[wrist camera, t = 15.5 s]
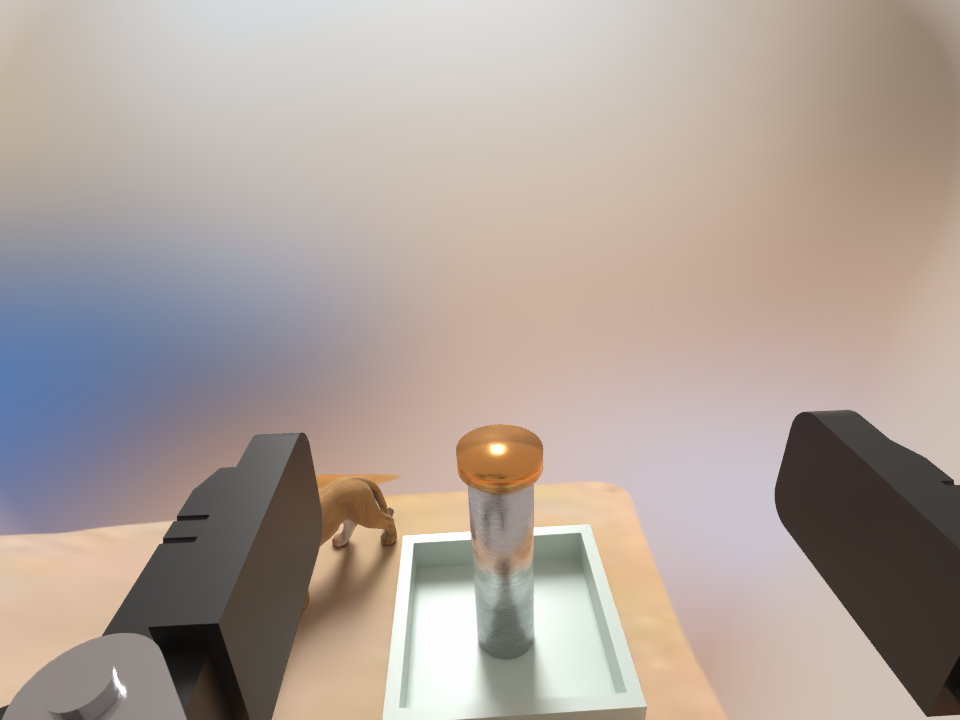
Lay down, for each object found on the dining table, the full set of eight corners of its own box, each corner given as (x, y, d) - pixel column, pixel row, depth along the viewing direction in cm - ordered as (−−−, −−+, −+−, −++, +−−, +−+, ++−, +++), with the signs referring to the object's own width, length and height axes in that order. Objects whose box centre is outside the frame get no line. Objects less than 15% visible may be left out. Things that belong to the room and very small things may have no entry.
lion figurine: (265, 664, 36) (233, 556, 32) (216, 626, 38) (180, 522, 35) (416, 526, 47) (405, 433, 43) (368, 503, 49) (354, 414, 45)
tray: (388, 759, 30) (381, 724, 29) (407, 566, 42) (403, 535, 41) (642, 742, 30) (646, 706, 29) (588, 555, 43) (589, 524, 41)
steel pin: (470, 669, 34) (456, 476, 28) (468, 607, 38) (455, 426, 32) (546, 664, 34) (549, 470, 28) (536, 602, 38) (536, 422, 32)
